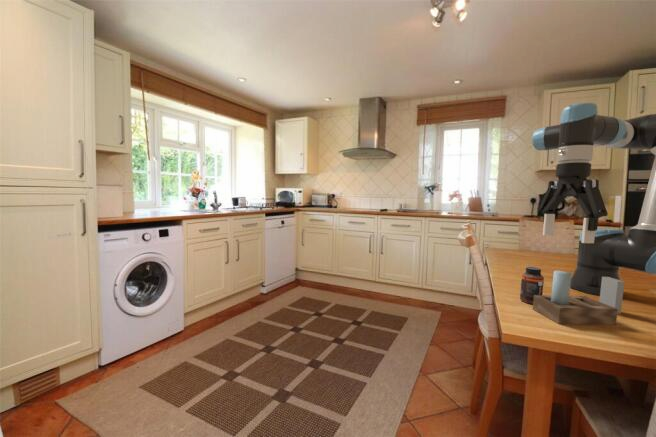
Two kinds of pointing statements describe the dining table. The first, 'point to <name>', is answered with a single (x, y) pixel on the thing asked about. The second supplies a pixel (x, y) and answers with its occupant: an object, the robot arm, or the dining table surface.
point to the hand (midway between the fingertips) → (566, 238)
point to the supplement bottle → (531, 284)
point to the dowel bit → (561, 287)
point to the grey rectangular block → (612, 292)
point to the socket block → (576, 310)
